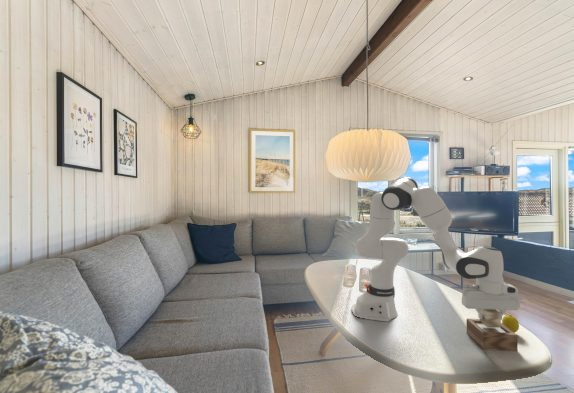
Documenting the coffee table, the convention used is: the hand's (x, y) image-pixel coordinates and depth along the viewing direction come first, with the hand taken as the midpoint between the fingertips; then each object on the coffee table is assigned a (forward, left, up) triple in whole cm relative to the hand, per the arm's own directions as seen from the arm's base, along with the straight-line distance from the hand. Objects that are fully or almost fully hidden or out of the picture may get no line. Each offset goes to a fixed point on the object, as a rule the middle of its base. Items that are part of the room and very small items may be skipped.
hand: (490, 318), depth 106 cm
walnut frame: (0, 0, -9) cm, 9 cm away
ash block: (0, 0, -2) cm, 2 cm away
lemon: (+12, +7, -10) cm, 17 cm away
